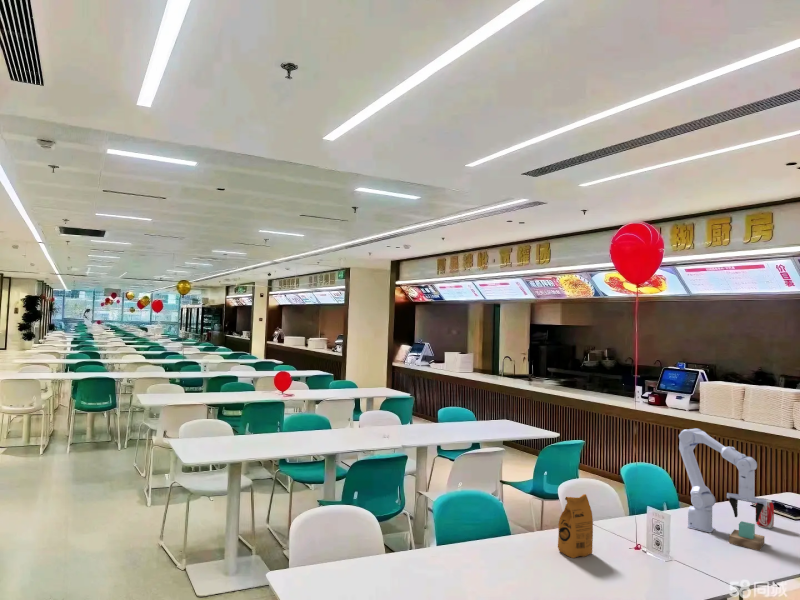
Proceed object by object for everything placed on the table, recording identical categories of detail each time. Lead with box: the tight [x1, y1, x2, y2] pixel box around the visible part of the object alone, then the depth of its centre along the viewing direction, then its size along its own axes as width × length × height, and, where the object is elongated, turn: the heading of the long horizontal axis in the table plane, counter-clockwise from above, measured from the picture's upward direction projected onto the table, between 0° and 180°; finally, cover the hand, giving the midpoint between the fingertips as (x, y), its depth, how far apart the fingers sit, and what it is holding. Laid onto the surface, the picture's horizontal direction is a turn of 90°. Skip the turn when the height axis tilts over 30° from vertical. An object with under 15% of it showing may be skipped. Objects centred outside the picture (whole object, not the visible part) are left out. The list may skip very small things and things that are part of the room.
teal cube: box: [738, 520, 756, 539], centre depth 237 cm, size 5×5×5 cm
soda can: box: [755, 497, 775, 529], centre depth 259 cm, size 7×7×12 cm
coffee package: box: [557, 493, 594, 559], centre depth 221 cm, size 10×12×22 cm
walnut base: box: [728, 529, 765, 551], centre depth 236 cm, size 11×11×3 cm
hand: (746, 518), depth 238 cm, fingers open, 7 cm apart
